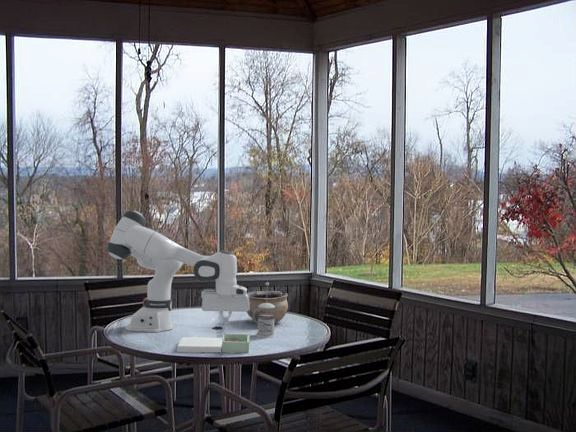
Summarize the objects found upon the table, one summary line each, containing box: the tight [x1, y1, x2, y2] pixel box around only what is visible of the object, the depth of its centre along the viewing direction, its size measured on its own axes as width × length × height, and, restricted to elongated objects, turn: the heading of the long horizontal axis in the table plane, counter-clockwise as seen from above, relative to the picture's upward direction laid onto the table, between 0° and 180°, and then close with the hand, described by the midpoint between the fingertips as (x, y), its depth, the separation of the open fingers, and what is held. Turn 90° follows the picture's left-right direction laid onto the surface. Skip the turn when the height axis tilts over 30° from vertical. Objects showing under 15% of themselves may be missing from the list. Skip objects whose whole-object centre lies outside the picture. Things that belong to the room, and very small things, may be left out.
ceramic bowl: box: [246, 290, 289, 324], centre depth 330 cm, size 22×22×15 cm
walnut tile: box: [227, 339, 239, 342], centre depth 280 cm, size 5×5×2 cm
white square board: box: [176, 336, 224, 353], centre depth 276 cm, size 18×16×2 cm
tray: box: [221, 333, 251, 354], centre depth 277 cm, size 11×15×4 cm
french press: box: [252, 282, 277, 339], centre depth 301 cm, size 10×12×25 cm
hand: (225, 321), depth 273 cm, fingers closed
